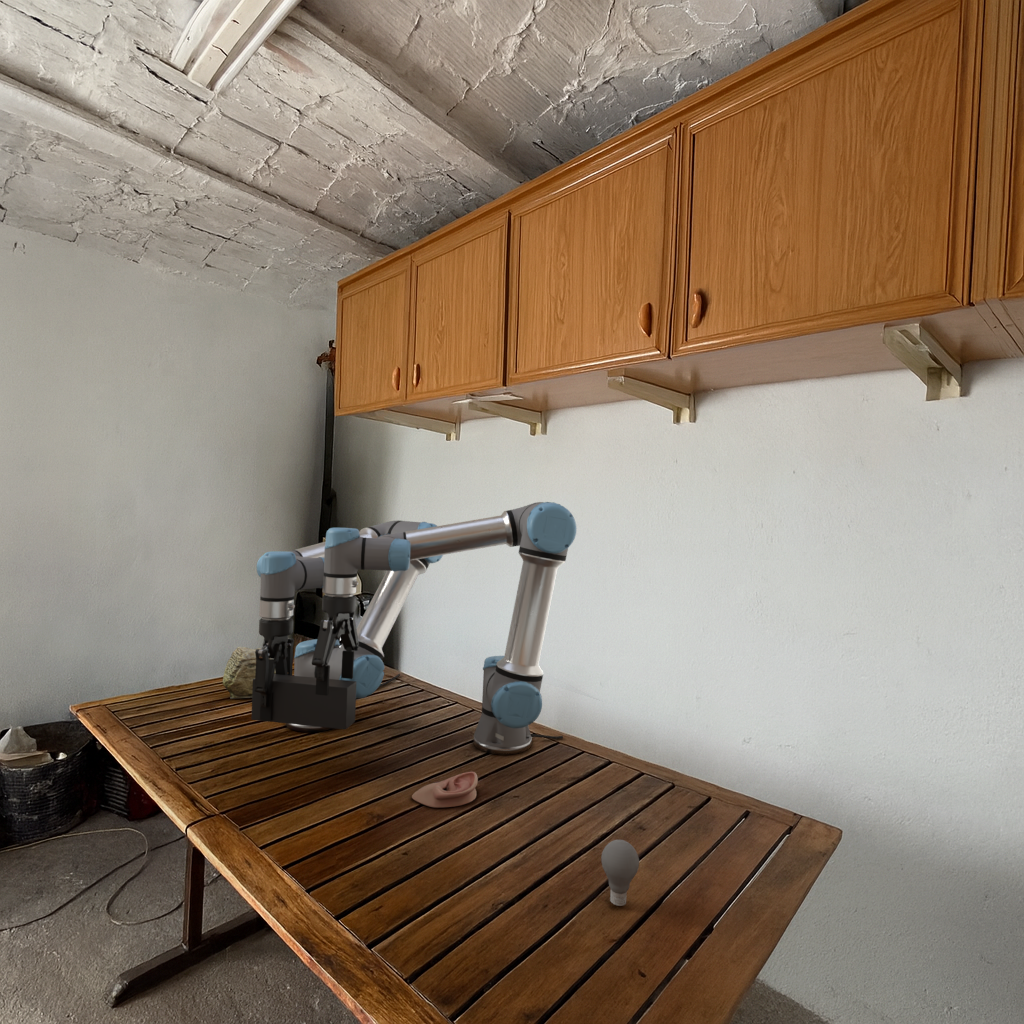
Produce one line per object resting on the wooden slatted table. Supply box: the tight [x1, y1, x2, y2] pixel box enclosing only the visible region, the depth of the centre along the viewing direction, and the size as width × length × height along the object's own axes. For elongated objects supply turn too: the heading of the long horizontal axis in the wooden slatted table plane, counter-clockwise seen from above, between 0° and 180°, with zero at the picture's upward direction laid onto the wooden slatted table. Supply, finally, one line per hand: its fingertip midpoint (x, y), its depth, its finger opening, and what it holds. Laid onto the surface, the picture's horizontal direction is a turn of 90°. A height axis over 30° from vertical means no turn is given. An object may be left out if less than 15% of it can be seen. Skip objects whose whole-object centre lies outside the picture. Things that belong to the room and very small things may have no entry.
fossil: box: [222, 646, 276, 699], centre depth 198 cm, size 9×18×15 cm, turn 132°
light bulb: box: [600, 839, 640, 907], centre depth 102 cm, size 6×6×10 cm
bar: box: [250, 674, 357, 730], centre depth 148 cm, size 23×5×10 cm, turn 81°
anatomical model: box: [411, 771, 479, 809], centre depth 136 cm, size 13×4×12 cm
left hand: (272, 715), depth 149 cm, fingers closed on bar, 5 cm apart
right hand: (335, 686), depth 147 cm, fingers open, 13 cm apart
